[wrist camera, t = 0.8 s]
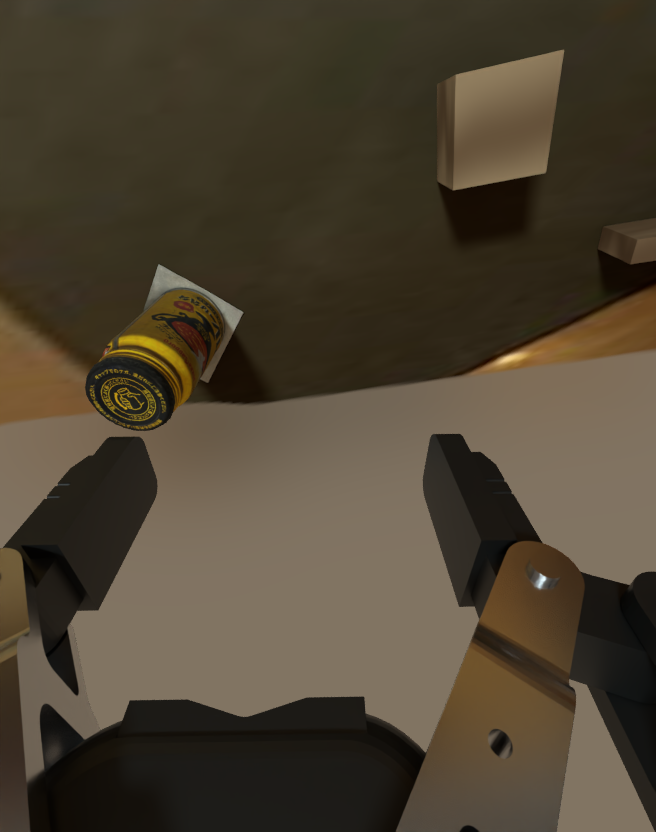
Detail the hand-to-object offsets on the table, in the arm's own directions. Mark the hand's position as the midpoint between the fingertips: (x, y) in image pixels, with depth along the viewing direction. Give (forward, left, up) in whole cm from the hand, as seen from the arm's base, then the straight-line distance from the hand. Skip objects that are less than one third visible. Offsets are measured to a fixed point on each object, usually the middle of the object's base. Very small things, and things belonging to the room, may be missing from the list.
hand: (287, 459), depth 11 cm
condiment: (+4, -13, -23) cm, 27 cm away
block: (-6, +11, -23) cm, 26 cm away
